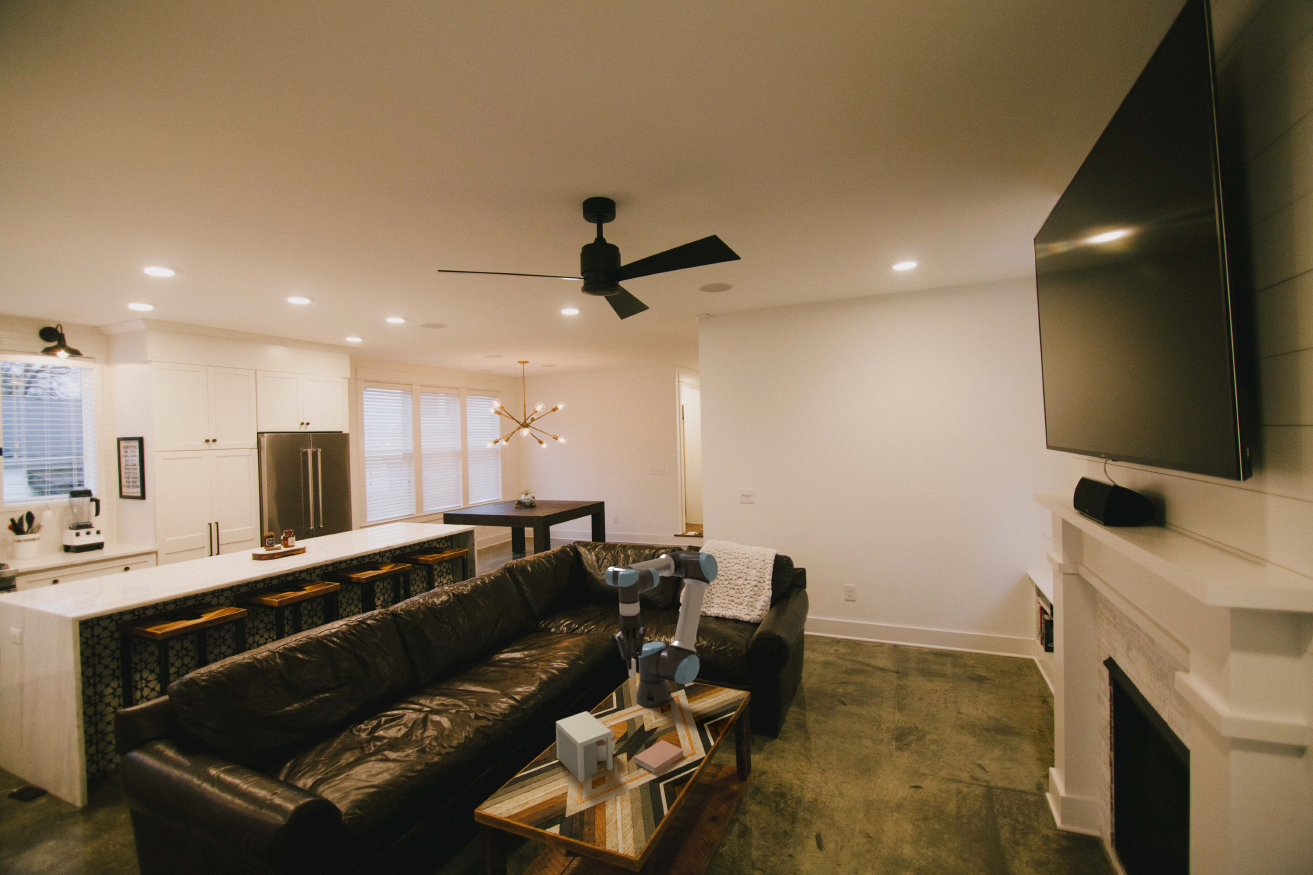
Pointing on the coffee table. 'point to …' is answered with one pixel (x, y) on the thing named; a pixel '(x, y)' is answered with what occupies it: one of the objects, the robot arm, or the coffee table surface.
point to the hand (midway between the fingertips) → (632, 676)
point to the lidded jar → (604, 747)
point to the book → (658, 756)
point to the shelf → (582, 744)
